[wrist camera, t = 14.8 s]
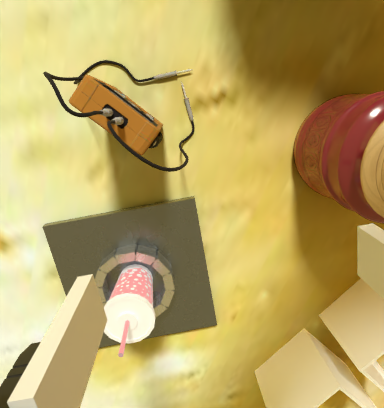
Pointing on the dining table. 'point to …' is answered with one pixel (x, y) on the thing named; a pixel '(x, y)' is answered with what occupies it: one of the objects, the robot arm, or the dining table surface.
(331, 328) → the desk organizer
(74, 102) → the multimeter
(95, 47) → the dining table surface
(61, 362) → the robot arm
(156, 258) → the cup holder
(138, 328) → the beverage cup
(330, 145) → the canister
